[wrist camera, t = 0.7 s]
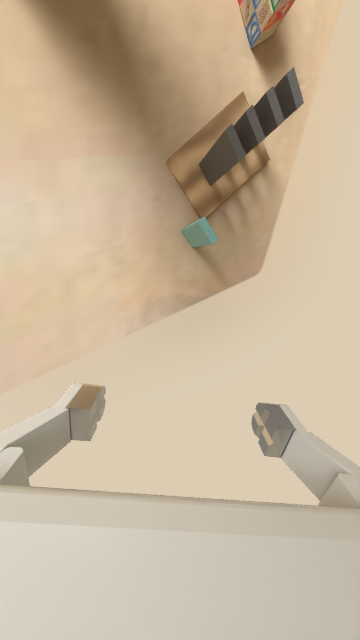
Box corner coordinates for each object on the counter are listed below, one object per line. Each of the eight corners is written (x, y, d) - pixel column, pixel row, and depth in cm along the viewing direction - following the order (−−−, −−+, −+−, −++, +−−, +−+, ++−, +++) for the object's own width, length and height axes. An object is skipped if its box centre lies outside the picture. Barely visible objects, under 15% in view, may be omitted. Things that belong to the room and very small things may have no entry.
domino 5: (243, 123, 40) (286, 73, 29) (248, 118, 40) (293, 67, 29) (253, 147, 42) (296, 109, 32) (258, 143, 42) (303, 103, 31)
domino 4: (228, 137, 40) (265, 92, 29) (233, 132, 40) (273, 85, 29) (238, 160, 42) (277, 126, 32) (243, 156, 42) (284, 120, 32)
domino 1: (180, 230, 45) (198, 221, 34) (185, 226, 45) (204, 216, 34) (192, 247, 47) (212, 244, 36) (197, 243, 47) (218, 239, 36)
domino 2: (198, 164, 41) (224, 129, 30) (203, 159, 40) (232, 123, 30) (210, 186, 43) (239, 161, 32) (215, 181, 43) (246, 155, 32)
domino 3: (213, 151, 40) (245, 111, 30) (218, 146, 40) (252, 104, 30) (224, 173, 43) (258, 144, 32) (229, 168, 42) (265, 137, 32)
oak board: (165, 163, 40) (166, 160, 39) (240, 95, 39) (243, 91, 38) (201, 220, 45) (203, 219, 44) (266, 161, 45) (269, 159, 44)
